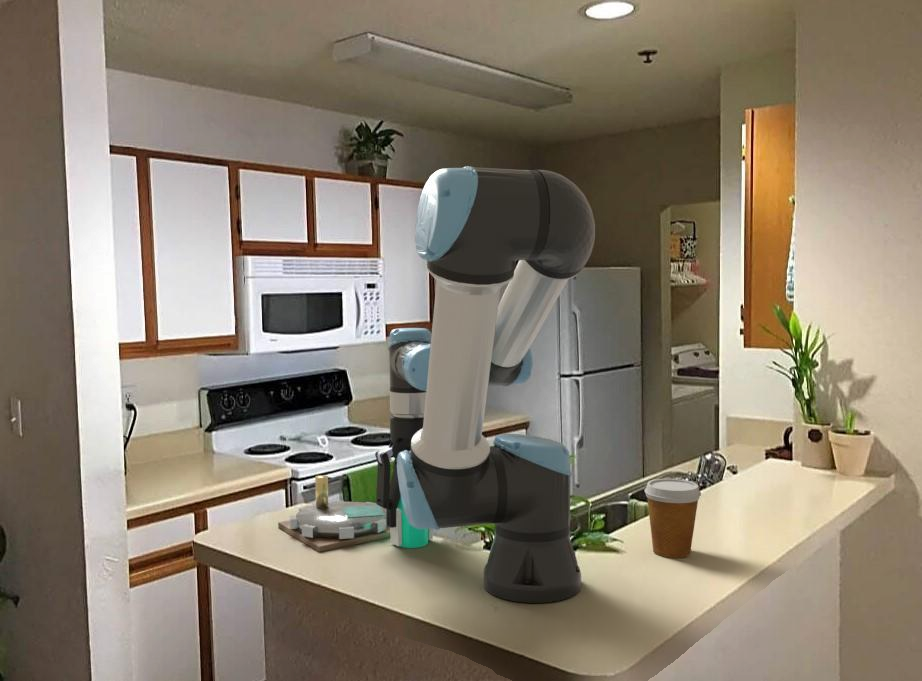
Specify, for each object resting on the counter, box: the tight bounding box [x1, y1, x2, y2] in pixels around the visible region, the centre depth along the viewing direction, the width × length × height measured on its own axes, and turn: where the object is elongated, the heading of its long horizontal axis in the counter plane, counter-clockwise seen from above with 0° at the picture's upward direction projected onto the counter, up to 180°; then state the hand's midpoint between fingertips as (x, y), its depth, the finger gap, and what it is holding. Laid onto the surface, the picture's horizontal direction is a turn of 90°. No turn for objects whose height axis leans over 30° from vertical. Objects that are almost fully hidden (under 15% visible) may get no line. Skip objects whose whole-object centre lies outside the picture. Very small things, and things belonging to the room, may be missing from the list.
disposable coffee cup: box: [644, 478, 702, 559], centre depth 145 cm, size 10×10×12 cm
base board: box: [277, 519, 390, 553], centre depth 158 cm, size 18×18×1 cm
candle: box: [398, 496, 429, 549], centre depth 151 cm, size 6×6×12 cm
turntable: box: [289, 474, 387, 539], centre depth 158 cm, size 19×19×8 cm
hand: (411, 540), depth 151 cm, fingers closed on candle, 6 cm apart
